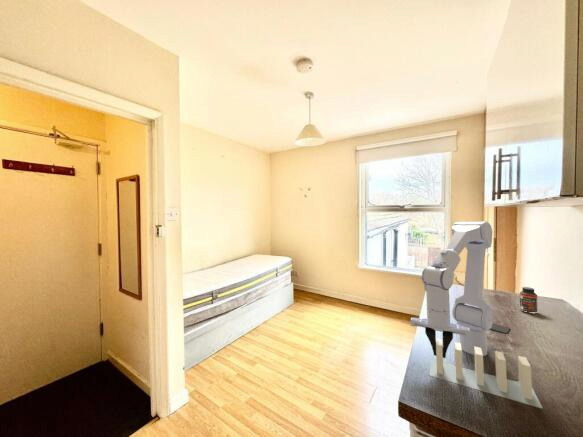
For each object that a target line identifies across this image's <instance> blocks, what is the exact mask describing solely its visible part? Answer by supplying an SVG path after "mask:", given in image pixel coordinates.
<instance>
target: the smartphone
mask: <svg viewBox="0 0 583 437" xmlns="http://www.w3.org/2000/svg"><path fill="white" fill-rule="evenodd" d="M488 331H492V332H496V333H500V334H504V335H508V334H509V333H510V331H511V328H510V327H508V326H504V325H500V324H497V323H493V325H492V327H491V329H489V330H488Z"/></svg>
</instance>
